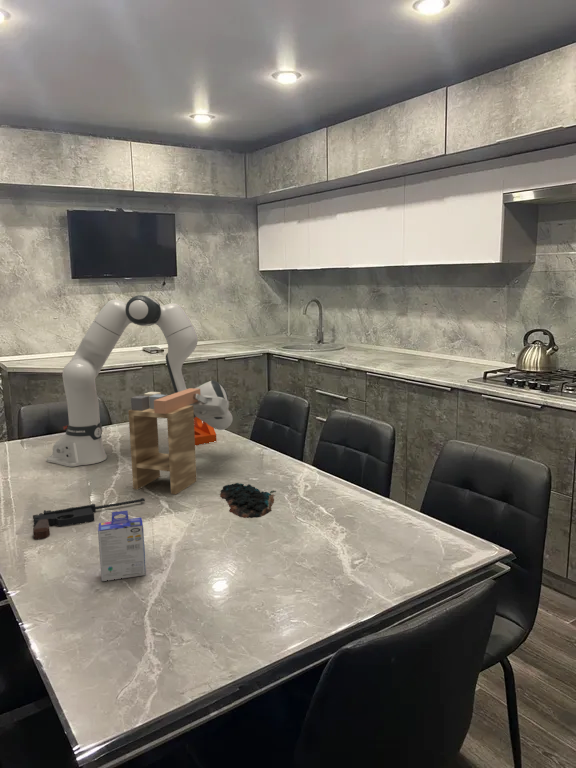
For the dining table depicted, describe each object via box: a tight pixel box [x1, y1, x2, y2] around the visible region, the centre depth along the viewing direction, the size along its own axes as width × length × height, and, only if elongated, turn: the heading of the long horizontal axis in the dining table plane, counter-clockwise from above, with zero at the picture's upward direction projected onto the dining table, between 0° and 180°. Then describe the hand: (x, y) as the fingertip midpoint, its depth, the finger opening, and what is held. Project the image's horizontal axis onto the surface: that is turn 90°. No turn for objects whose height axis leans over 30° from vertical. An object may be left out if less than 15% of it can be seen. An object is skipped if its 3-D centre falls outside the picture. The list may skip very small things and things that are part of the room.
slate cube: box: [149, 394, 168, 409], centre depth 191 cm, size 4×4×4 cm
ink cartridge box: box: [97, 510, 146, 582], centre depth 135 cm, size 10×6×14 cm, turn 107°
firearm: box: [32, 497, 146, 540], centre depth 168 cm, size 32×3×15 cm
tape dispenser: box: [194, 417, 217, 446], centre depth 251 cm, size 18×13×8 cm
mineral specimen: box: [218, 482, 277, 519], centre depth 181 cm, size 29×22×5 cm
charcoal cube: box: [130, 395, 149, 411], centre depth 189 cm, size 4×4×4 cm
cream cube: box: [143, 391, 162, 406], centre depth 196 cm, size 4×4×4 cm
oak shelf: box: [127, 405, 197, 495], centre depth 193 cm, size 16×13×26 cm
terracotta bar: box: [154, 387, 200, 414], centre depth 193 cm, size 4×22×4 cm, turn 159°
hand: (188, 395), depth 199 cm, fingers closed on terracotta bar, 4 cm apart
